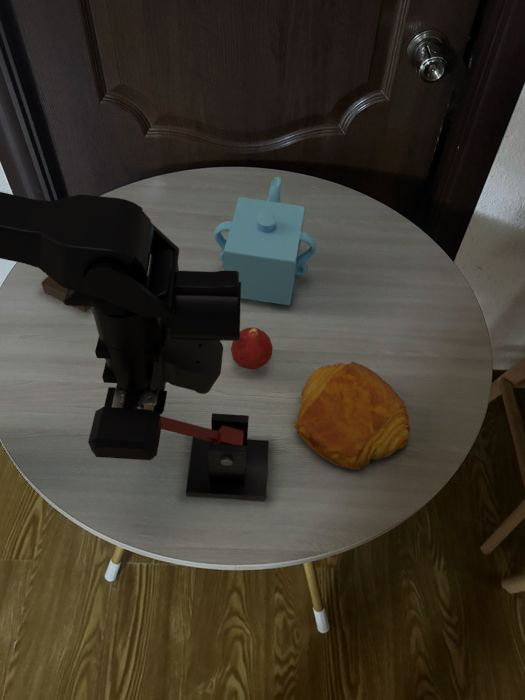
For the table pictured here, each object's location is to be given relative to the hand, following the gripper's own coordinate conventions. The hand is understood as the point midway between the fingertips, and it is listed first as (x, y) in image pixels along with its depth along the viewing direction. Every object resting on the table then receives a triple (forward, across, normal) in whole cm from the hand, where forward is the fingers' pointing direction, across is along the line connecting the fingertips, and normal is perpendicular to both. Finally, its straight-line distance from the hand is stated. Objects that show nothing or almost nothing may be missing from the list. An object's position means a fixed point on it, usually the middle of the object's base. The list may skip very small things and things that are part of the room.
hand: (146, 413), depth 69 cm
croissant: (+13, +8, -25) cm, 29 cm away
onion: (+13, +17, -11) cm, 24 cm away
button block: (+13, +31, +16) cm, 37 cm away
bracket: (+13, 0, -9) cm, 16 cm away
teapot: (+13, +37, -12) cm, 41 cm away
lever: (+4, 0, -5) cm, 6 cm away
